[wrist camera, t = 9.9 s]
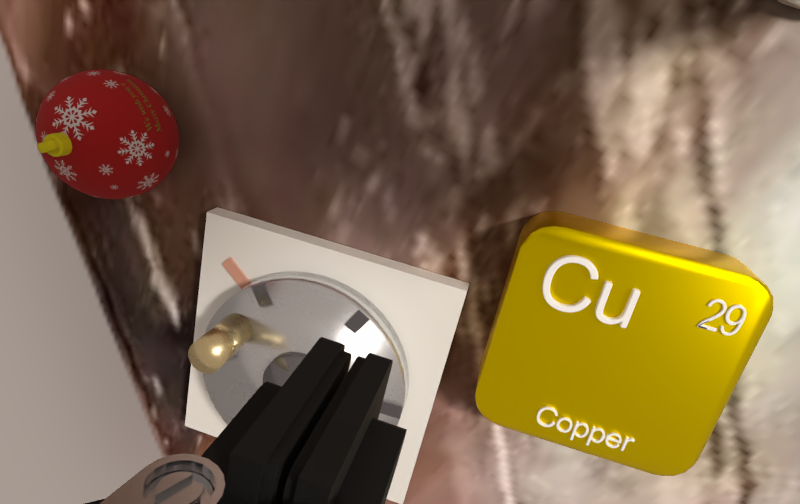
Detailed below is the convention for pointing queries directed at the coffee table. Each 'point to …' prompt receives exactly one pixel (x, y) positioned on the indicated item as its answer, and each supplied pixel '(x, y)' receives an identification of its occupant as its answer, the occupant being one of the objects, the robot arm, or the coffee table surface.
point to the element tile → (619, 341)
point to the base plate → (364, 272)
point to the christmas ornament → (107, 134)
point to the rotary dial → (292, 338)
